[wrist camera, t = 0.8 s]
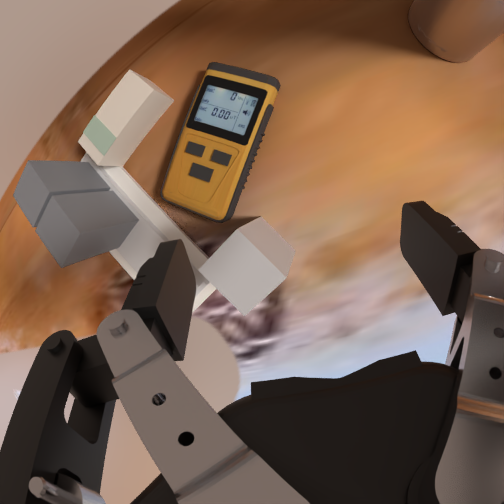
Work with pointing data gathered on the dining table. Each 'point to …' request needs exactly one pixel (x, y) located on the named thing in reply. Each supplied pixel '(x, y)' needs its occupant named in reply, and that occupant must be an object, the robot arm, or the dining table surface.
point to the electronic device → (219, 141)
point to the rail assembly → (100, 216)
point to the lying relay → (124, 120)
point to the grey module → (249, 264)
